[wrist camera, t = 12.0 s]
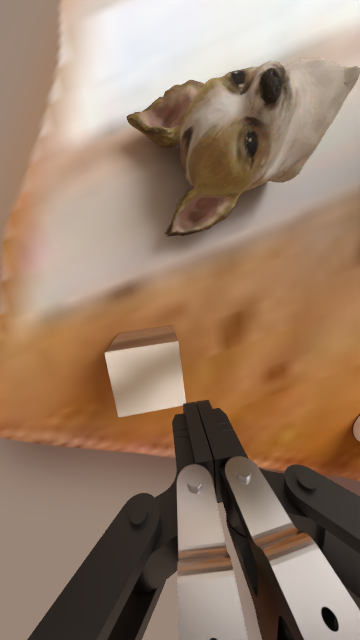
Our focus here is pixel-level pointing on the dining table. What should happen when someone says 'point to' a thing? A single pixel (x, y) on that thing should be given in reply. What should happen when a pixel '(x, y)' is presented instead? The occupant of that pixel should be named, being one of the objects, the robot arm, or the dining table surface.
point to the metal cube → (145, 371)
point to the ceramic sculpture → (243, 131)
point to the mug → (357, 429)
